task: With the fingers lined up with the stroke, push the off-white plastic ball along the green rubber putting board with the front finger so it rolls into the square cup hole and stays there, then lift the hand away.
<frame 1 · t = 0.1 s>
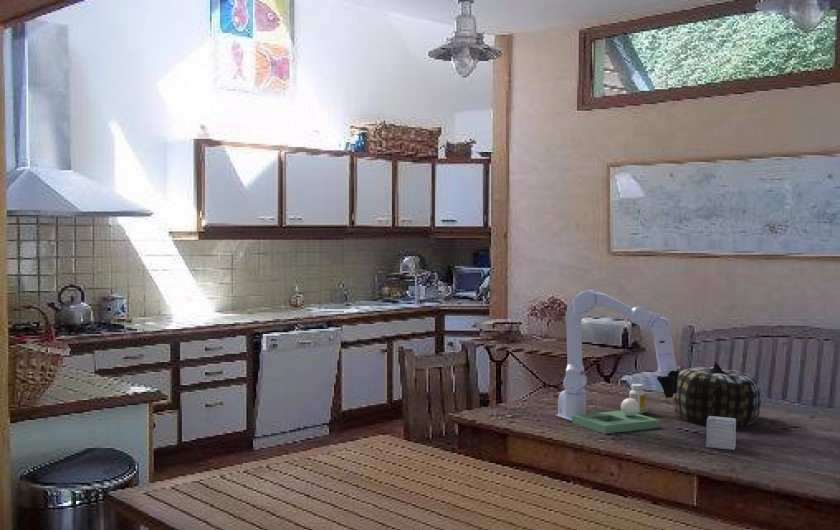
hand: (671, 395, 277), 10 cm above the table, tool pointing down, fingers open, 7 cm apart
supplement bottle: (636, 412, 301), on the table
decorative pumpkin: (715, 419, 292), on the table
white ball: (629, 407, 282), point 5 cm above the table, touching putting board
putting board: (615, 425, 280), on the table
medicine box: (720, 448, 252), on the table
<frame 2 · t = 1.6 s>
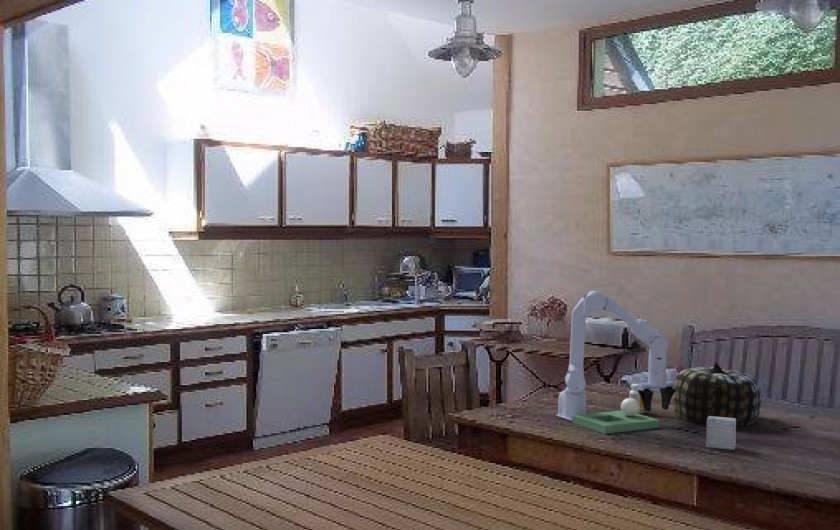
hand: (656, 410, 287), 4 cm above the table, tool pointing down, fingers open, 7 cm apart
nothing on the table moved.
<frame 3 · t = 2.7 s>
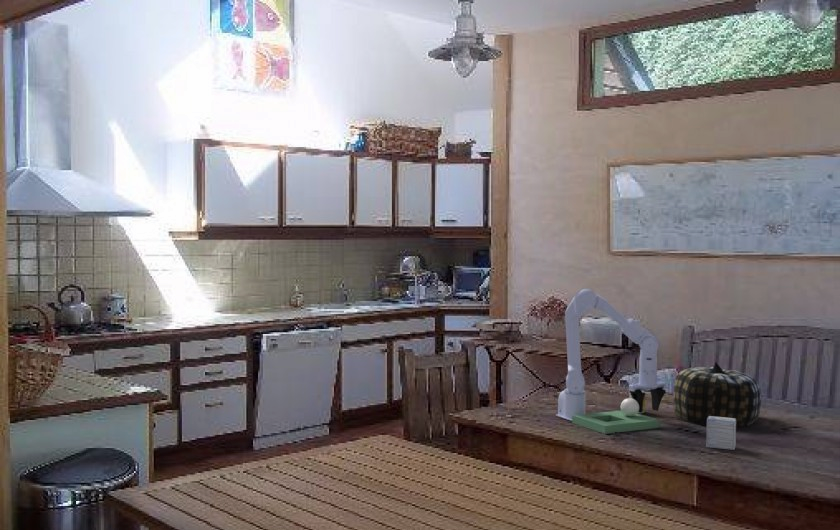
hand: (647, 411, 285), 4 cm above the table, tool pointing down, fingers open, 6 cm apart
white ball: (629, 407, 282), point 5 cm above the table, touching gripper, putting board
everything else where it was.
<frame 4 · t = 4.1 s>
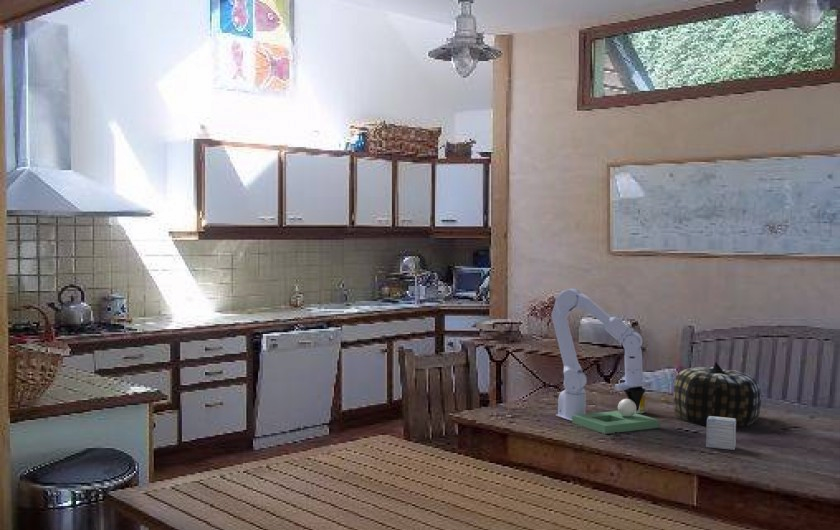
hand: (635, 410, 282), 5 cm above the table, tool pointing down, fingers closed, pressing on white ball
white ball: (627, 407, 281), point 5 cm above the table, tilted 29°, touching gripper, putting board
everything else where it was.
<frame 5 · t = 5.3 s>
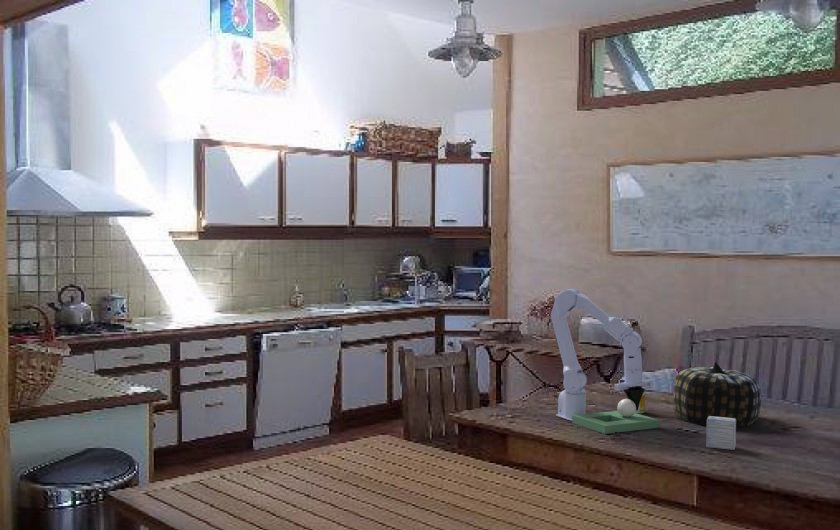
hand: (634, 409, 282), 5 cm above the table, tool pointing down, fingers closed, pressing on white ball
white ball: (626, 407, 281), point 5 cm above the table, tilted 33°, touching gripper, putting board
everything else where it was.
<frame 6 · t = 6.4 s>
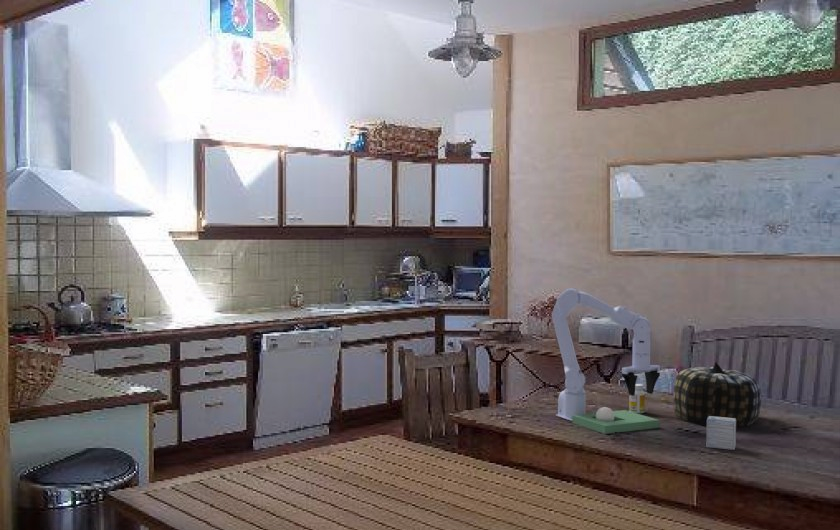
hand: (640, 394, 284), 10 cm above the table, tool pointing down, fingers open, 7 cm apart
white ball: (605, 416, 278), point 3 cm above the table, tilted 146°, touching putting board
everything else where it was.
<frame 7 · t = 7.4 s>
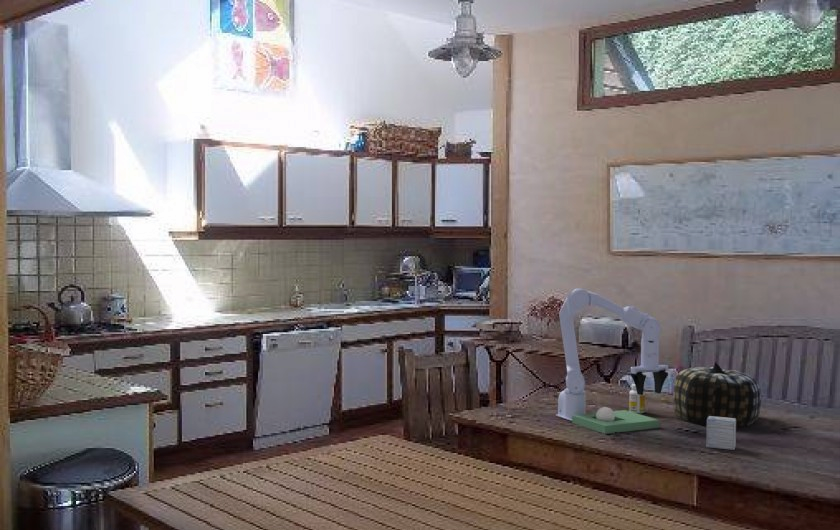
hand: (649, 393, 285), 9 cm above the table, tool pointing down, fingers open, 7 cm apart
nothing on the table moved.
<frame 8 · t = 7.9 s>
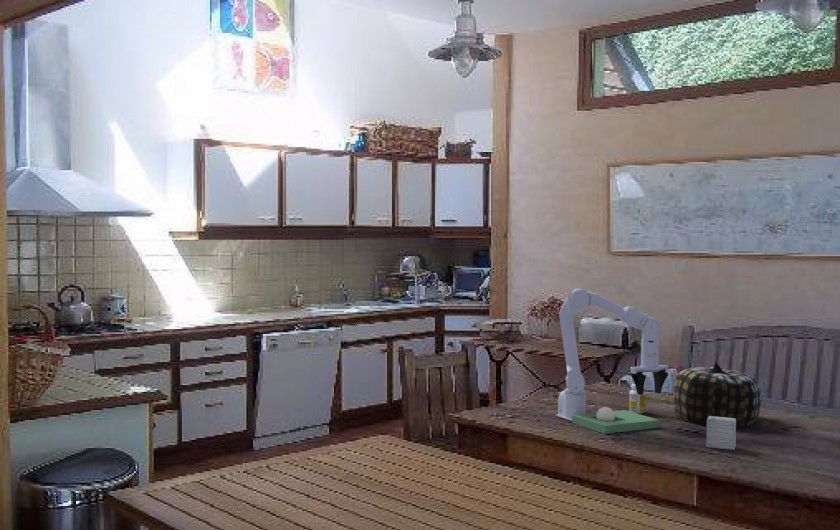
hand: (649, 393, 285), 9 cm above the table, tool pointing down, fingers open, 7 cm apart
nothing on the table moved.
at the end: white ball 0.9 cm from the target spot on the putting board, point 3.2 cm above the putting board's base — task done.
